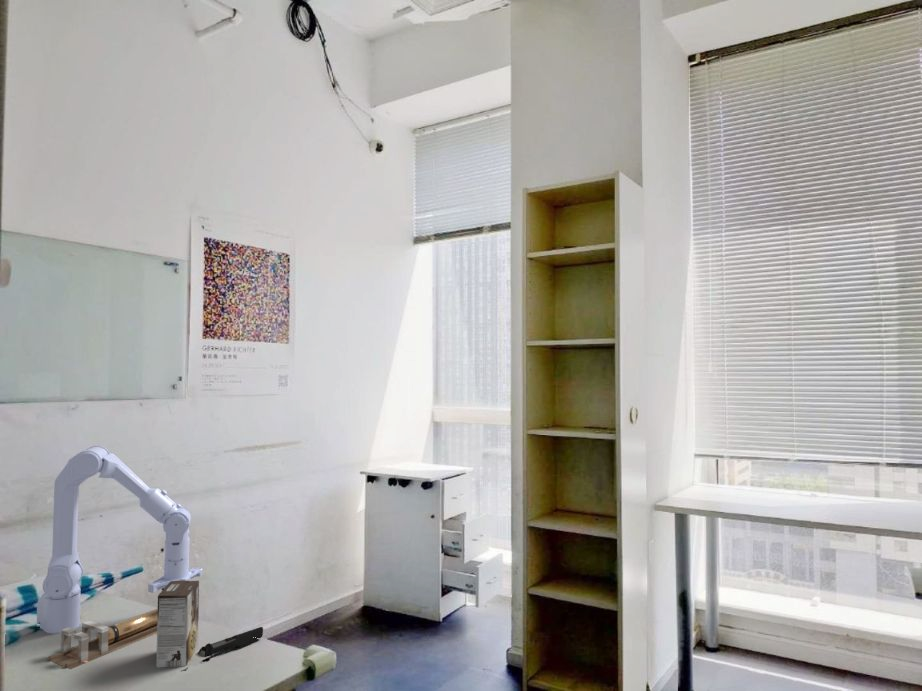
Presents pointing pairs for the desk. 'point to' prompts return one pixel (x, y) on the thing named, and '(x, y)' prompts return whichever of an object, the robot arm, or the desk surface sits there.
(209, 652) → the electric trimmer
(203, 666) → the desk surface
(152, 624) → the thermos bottle
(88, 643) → the board
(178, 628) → the coffee box
